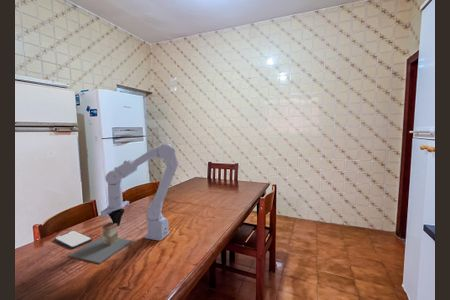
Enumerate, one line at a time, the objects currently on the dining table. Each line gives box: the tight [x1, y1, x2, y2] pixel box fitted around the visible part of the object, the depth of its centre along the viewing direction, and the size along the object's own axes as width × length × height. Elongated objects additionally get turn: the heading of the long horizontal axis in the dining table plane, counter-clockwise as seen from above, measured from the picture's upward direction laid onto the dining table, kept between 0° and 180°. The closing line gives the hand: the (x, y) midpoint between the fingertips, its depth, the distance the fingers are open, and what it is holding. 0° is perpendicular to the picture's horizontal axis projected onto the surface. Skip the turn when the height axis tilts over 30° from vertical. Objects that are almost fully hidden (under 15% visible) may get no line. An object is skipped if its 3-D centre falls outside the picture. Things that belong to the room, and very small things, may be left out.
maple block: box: [101, 221, 119, 245], centre depth 95 cm, size 4×4×8 cm
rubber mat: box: [68, 235, 133, 265], centre depth 91 cm, size 16×17×1 cm
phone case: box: [53, 230, 93, 250], centre depth 98 cm, size 9×2×16 cm
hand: (116, 225), depth 99 cm, fingers closed
